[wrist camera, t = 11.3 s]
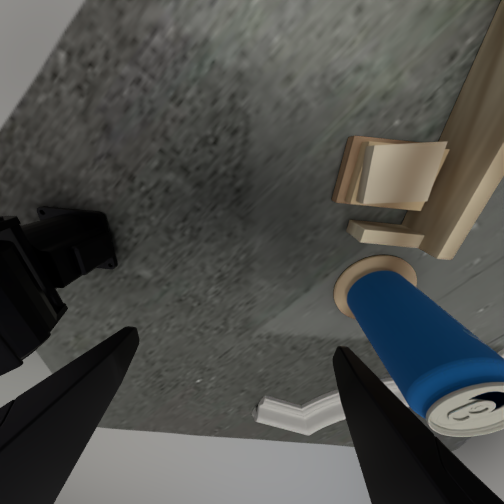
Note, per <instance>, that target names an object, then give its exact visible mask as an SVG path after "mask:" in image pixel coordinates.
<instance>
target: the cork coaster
mask: <svg viewBox="0 0 504 504" xmlns="http://www.w3.org/2000/svg"><path fill="white" fill-rule="evenodd" d="M380 270H389V271H393V272H396V273H398V274H400V275H402V276H403V277H404V278H405V279H407V280H408V281H409V282H410V283H412V284H413V285H414V286H415V287H416V284H417V277H416V273H415V271H414V269H413V268H412V266H410V265H409V264H408V263H407V262H406V261H404V260H403V259H401V258H398V257H395V256H391V255H375V256H370V257H367V258H364V259H361V260H359V261H357V262H355V263H354V264H352V265H351V266H349V267H348V268H347V269H346V270H345V271H344V272H343V273H342V274H341V275H340V277H339V278H338V280H337V281H336V284H335V287H334V292H333V295H334V301H335V303H336V305H337V307H338V308H339V310H340V311H341V312H342V313H343V314H345V315H346V316H348V317H351V318H353V319H356V318H355V316H354V315H353V313H352V311H351V310H350V308H349V307H348V304H347V294H348V291H349V289H350V288H351V286H352V285H353V284H354V283H355V282H356V281H357V280H358V279H359V278H361V277H362V276H364V275H366V274H368V273H371V272H375V271H380Z"/></svg>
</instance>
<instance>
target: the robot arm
mask: <svg viewBox="0 0 504 504" xmlns="http://www.w3.org/2000/svg"><path fill="white" fill-rule="evenodd" d="M37 213H38V215H39V218H40V221H37V222H33V223H30V224H26V225H23V226H20V225H19V224H21V223H20V221H19V219H18V217H17V216H0V376H1V375H3V374H5V373H7V372H9V371H11V370H13V369H16V368H18V367H20V366H21V365H22V364H23V361H22V360H23V359H25V358H26V357H28V356H29V355H30V354H32V353H33V352H34V351H35V350H36V349H37V348H38V347H39V346H41V345H42V344H43V343H44V342H45V341H46V340H47V339H48V338H49V337H50V335H51V333H50V332H51V331H52V329H53V328H54V327H55V325H56V324H57V323H58V321H59V320H60V319H61V317H62V316H63V315H64V313H65V312H66V311H67V309H68V307H67V306H66V304H65V303H63V301H62V300H61V298H60V296H59V294H58V292H57V291H56V289H57V288H64V287H65V286H67V285H68V284H70V283H71V282H73V281H75V280H76V279H78V278H79V277H81V276H82V275H86V274H88V273H89V272H91V271H92V270H93V269H95V268H103V269H114V268H115V267H117V262H116V258H115V254H114V249H113V245H112V241H111V237H110V233H109V229H108V225H107V221H106V217H105V215H104V214H103V213H102V212H96V211H86V210H75V209H65V208H55V207H45V206H44V207H39V208H37ZM98 216H99V217H100V218H99V217H98ZM111 264H112V265H111ZM138 345H139V336H138V331H137V328H136V327H129V326H127V327H124V328H123V329H121V330H120V331H118V332H117V333H115V334H114V335H112V336H110V337H109V338H107V339H106V340H104V341H103V342H101V343H100V344H98V345H97V346H95V347H94V348H92V349H90V350H89V351H87V352H86V353H84V354H83V355H81V356H80V357H78V358H77V359H75V360H74V361H72V362H70V363H69V364H67V365H66V366H64V367H63V368H61V369H60V370H58V371H57V372H55V373H54V374H52V375H51V376H49V377H47V378H46V379H44V380H43V381H41V382H40V383H38V384H37V385H35V386H34V387H32V388H30V389H29V390H27V391H26V392H24V393H23V394H21V395H20V396H18V397H17V398H16V399H15V400H12V401H10V402H9V403H7V404H6V405H4V406H3V407H1V408H0V504H54V502H55V500H56V498H57V496H58V495H59V493H60V491H61V489H62V488H63V486H64V484H65V482H66V481H67V479H68V477H69V475H70V473H71V472H72V470H73V468H74V466H75V465H76V463H77V461H78V459H79V457H80V455H81V454H82V452H83V450H84V449H85V447H86V445H87V443H88V442H89V440H90V438H91V436H92V434H93V433H94V431H95V429H96V427H97V426H98V424H99V422H100V420H101V418H102V417H103V415H104V413H105V411H106V410H107V408H108V406H109V404H110V402H111V401H112V399H113V397H114V395H115V394H116V392H117V390H118V388H119V386H120V385H121V383H122V381H123V379H124V376H125V374H126V372H127V370H128V368H129V365H130V363H131V361H132V359H133V356H134V354H135V352H136V350H137V348H138ZM333 367H334V372H335V377H336V381H337V386H338V391H339V396H340V400H341V404H342V408H343V411H344V414H345V417H346V421H347V424H348V427H349V431H350V434H351V437H352V440H353V444H354V447H355V450H356V454H357V457H358V460H359V463H360V467H361V470H362V473H363V476H364V479H365V483H366V486H367V489H368V493H369V496H370V499H371V503H372V504H504V502H503V501H502V500H501V499H500V498H499V497H498V496H497V495H496V494H495V493H493V492H492V491H491V490H490V489H489V488H488V487H487V486H486V485H485V484H484V483H483V482H482V481H481V480H480V479H479V478H478V477H477V476H475V475H474V474H473V473H472V472H471V471H470V470H469V469H468V468H467V467H466V466H465V465H464V464H463V463H462V462H461V461H460V460H459V459H458V458H457V457H456V456H455V455H454V454H453V453H452V452H451V451H450V450H449V449H448V448H447V447H446V446H445V445H444V444H443V443H442V442H441V441H440V440H439V439H438V438H437V437H435V436H434V434H433V433H432V432H431V431H430V430H429V429H428V428H427V427H426V426H425V425H424V424H423V423H422V422H421V421H420V420H419V419H418V418H417V417H416V416H415V415H414V414H413V413H412V412H411V410H410V409H409V408H408V407H407V406H406V405H405V404H404V403H403V402H402V401H401V400H400V399H399V398H398V397H397V396H396V395H395V394H394V393H393V392H392V391H391V390H390V389H389V388H388V387H387V386H386V385H385V384H384V383H383V382H382V381H381V380H380V379H379V378H378V377H377V376H376V375H375V374H374V373H373V372H372V371H371V370H370V369H369V368H368V367H367V366H366V365H365V364H364V363H363V362H362V361H361V360H360V359H359V358H358V357H357V356H356V355H355V354H354V353H353V352H352V351H351V350H350V349H349V348H348V347H345V346H338V347H337V349H336V351H335V354H334V356H333Z"/></svg>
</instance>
